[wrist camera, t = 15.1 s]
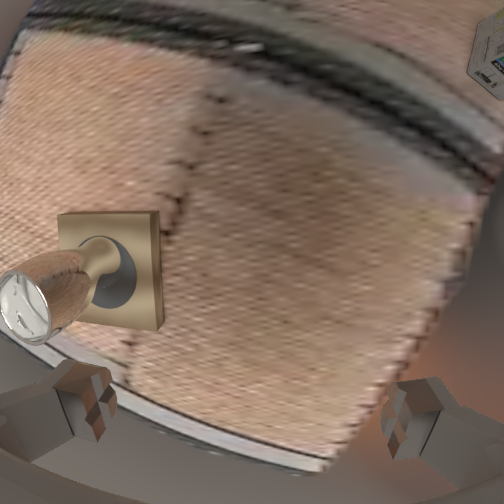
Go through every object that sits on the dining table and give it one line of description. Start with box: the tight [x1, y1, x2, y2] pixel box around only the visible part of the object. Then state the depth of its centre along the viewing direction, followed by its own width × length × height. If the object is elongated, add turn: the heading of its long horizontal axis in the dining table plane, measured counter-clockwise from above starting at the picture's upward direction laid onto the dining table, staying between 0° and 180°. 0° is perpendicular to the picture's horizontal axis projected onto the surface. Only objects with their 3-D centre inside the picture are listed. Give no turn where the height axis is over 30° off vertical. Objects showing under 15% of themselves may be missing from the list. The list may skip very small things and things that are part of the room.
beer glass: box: [0, 237, 124, 346], centre depth 28 cm, size 7×7×15 cm
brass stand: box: [57, 211, 165, 331], centre depth 37 cm, size 14×13×3 cm
